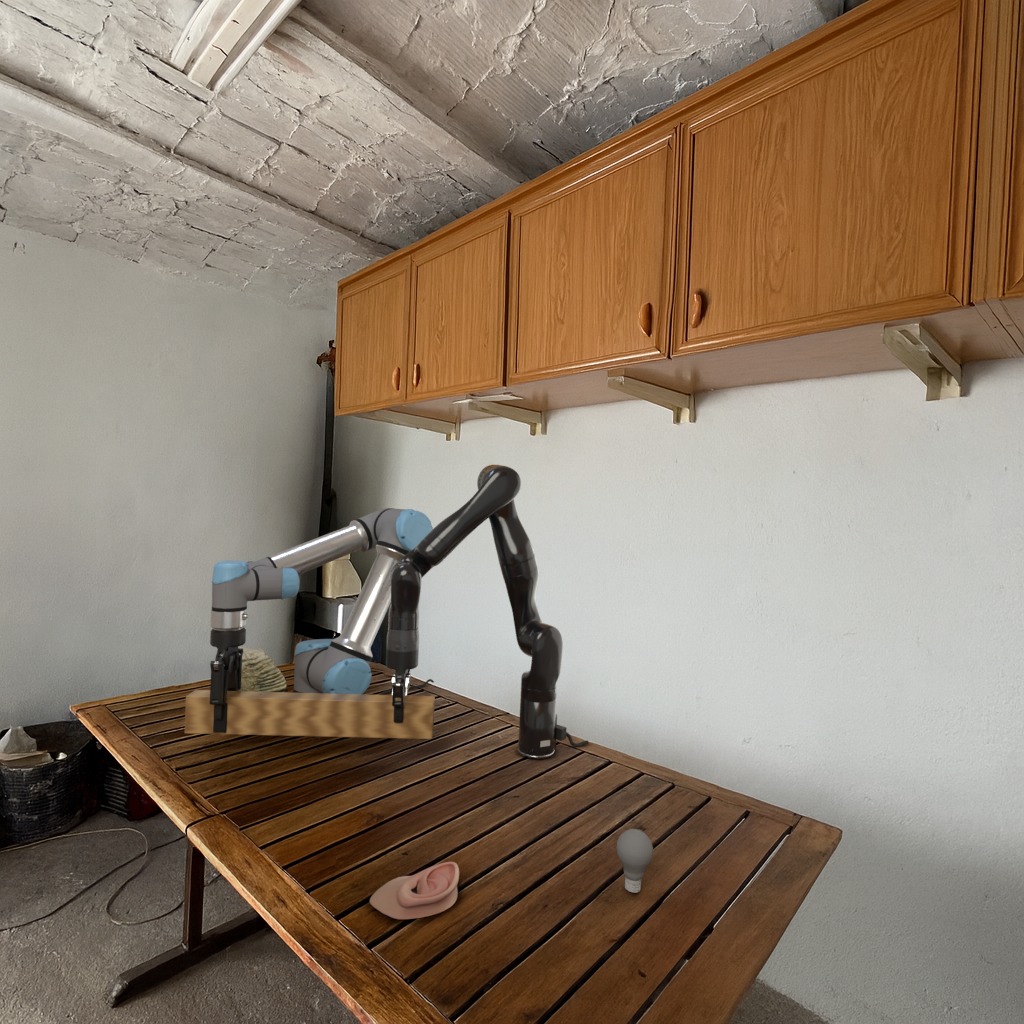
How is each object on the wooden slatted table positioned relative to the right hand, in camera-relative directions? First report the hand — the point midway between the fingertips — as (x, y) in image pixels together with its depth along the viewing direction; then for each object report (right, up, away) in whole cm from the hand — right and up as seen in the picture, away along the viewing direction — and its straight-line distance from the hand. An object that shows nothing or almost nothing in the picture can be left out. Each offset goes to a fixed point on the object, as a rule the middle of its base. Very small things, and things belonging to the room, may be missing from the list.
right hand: (399, 717), depth 150 cm
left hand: (-40, -1, -2) cm, 40 cm away
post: (-20, -3, -1) cm, 21 cm away
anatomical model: (+11, -13, -48) cm, 51 cm away
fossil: (-54, -9, +49) cm, 73 cm away
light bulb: (+47, -15, -44) cm, 66 cm away
